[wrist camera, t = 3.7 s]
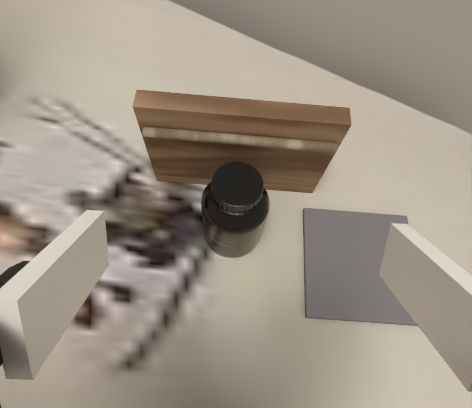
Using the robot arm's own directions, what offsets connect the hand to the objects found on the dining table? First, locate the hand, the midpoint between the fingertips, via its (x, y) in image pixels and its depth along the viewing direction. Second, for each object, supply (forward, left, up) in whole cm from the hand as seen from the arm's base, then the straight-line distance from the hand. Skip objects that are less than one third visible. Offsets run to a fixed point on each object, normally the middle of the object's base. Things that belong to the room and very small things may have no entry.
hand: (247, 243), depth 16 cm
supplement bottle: (+8, +4, -24) cm, 26 cm away
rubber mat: (+12, -11, -24) cm, 29 cm away
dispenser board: (+16, +8, -24) cm, 30 cm away
